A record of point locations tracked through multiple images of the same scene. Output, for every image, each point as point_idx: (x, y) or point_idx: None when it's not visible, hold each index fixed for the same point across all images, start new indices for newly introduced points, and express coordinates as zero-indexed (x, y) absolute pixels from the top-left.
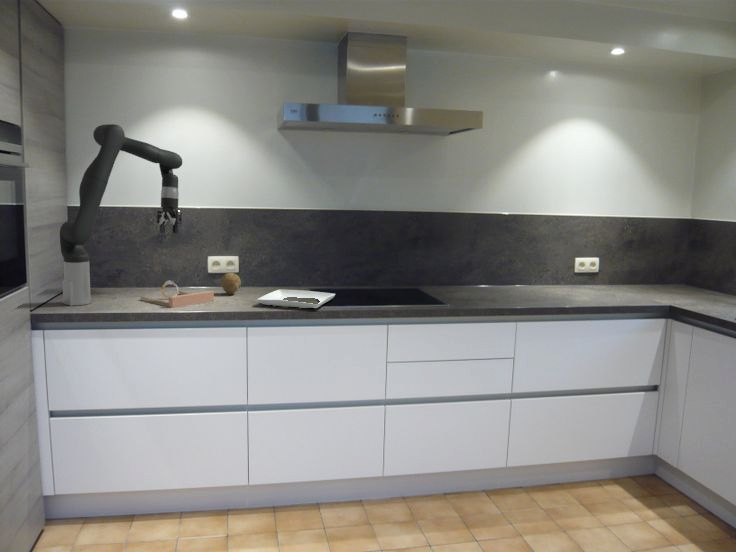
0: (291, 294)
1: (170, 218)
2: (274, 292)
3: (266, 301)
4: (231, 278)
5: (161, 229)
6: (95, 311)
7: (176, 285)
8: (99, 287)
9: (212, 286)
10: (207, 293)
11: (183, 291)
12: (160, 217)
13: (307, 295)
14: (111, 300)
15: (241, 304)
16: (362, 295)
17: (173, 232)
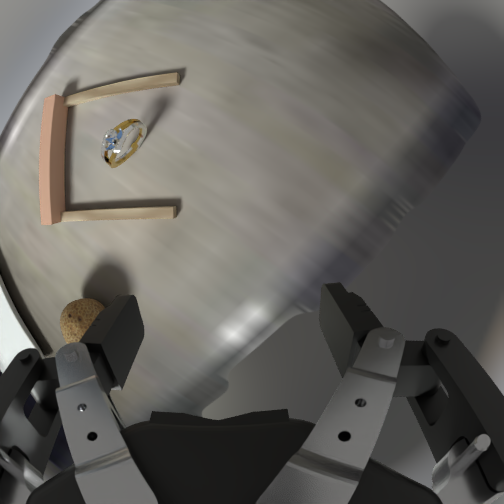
0: None
1: (79, 400)
2: (26, 335)
3: None
4: (60, 317)
5: (334, 303)
6: None
7: (102, 157)
8: (436, 120)
9: (230, 359)
10: (41, 203)
11: (159, 214)
12: (448, 417)
13: None
14: (233, 23)
15: (13, 241)
16: (29, 413)
17: (118, 296)
